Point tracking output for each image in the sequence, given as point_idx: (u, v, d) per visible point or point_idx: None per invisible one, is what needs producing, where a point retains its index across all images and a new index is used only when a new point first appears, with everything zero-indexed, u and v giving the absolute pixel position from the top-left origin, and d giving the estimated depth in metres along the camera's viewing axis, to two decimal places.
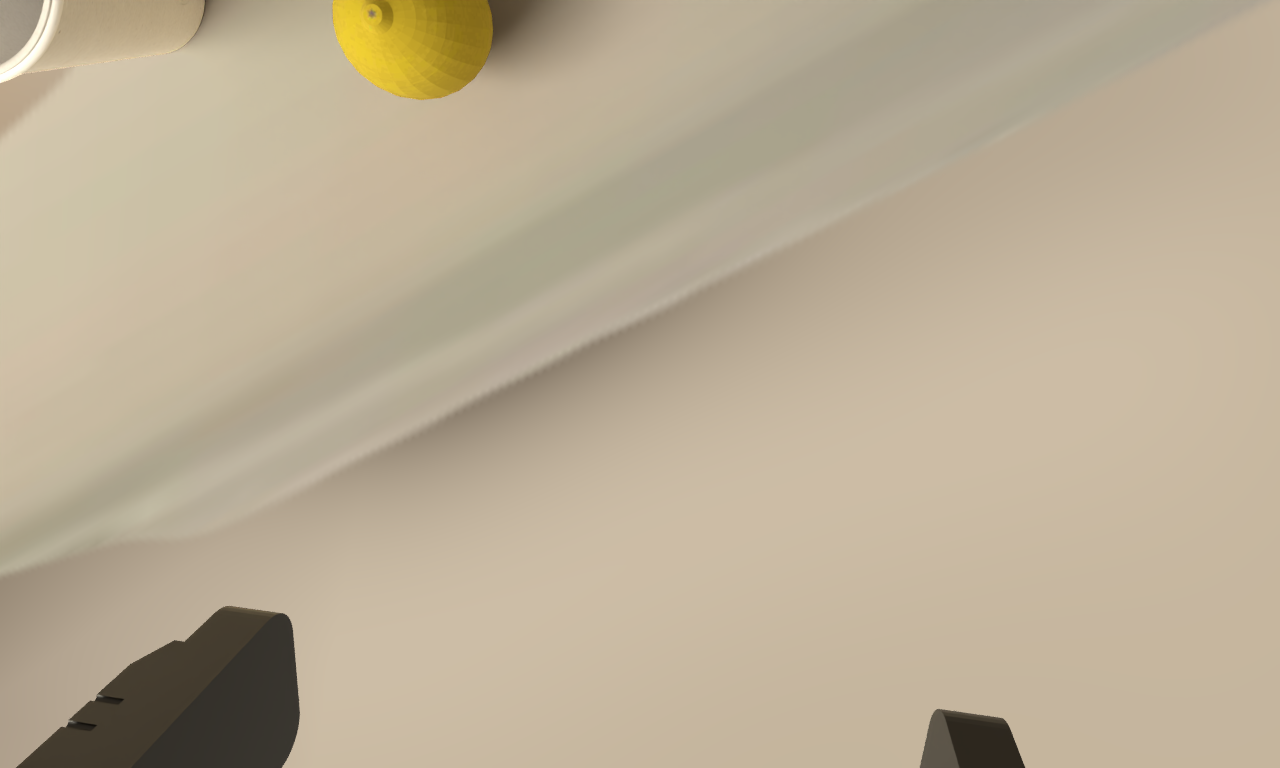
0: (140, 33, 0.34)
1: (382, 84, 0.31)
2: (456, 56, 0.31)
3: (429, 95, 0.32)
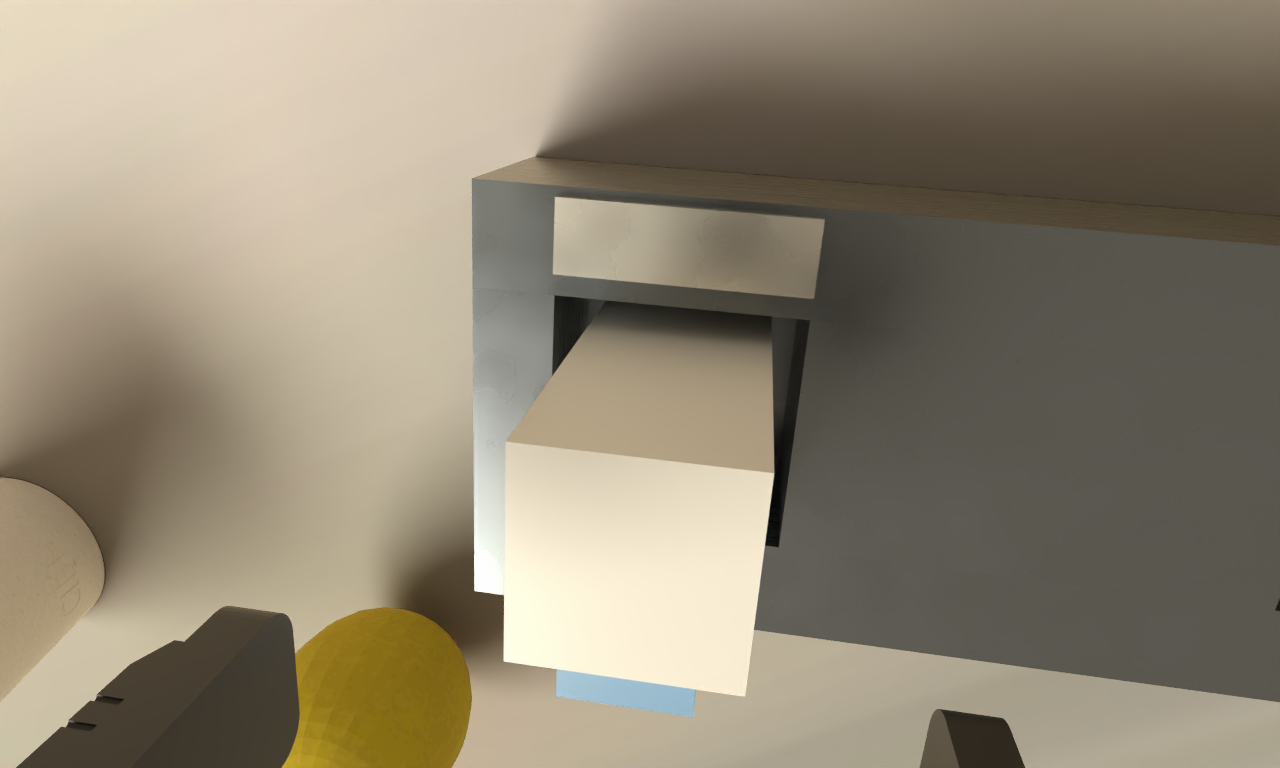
0: (6, 694, 0.26)
1: None
2: None
3: None
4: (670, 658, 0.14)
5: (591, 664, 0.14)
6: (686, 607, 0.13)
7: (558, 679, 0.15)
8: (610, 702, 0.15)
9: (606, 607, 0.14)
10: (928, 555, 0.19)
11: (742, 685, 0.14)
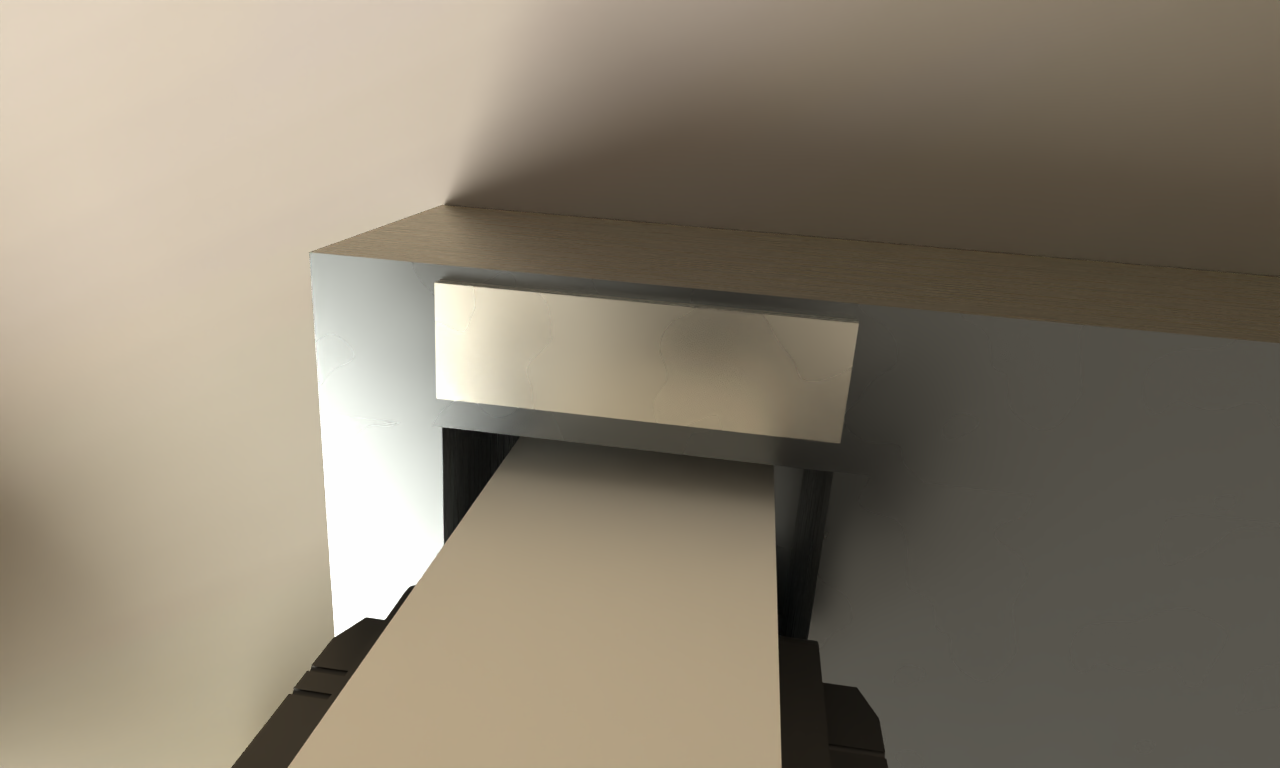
0: None
1: None
2: None
3: None
4: None
5: None
6: None
7: None
8: None
9: None
10: None
11: None
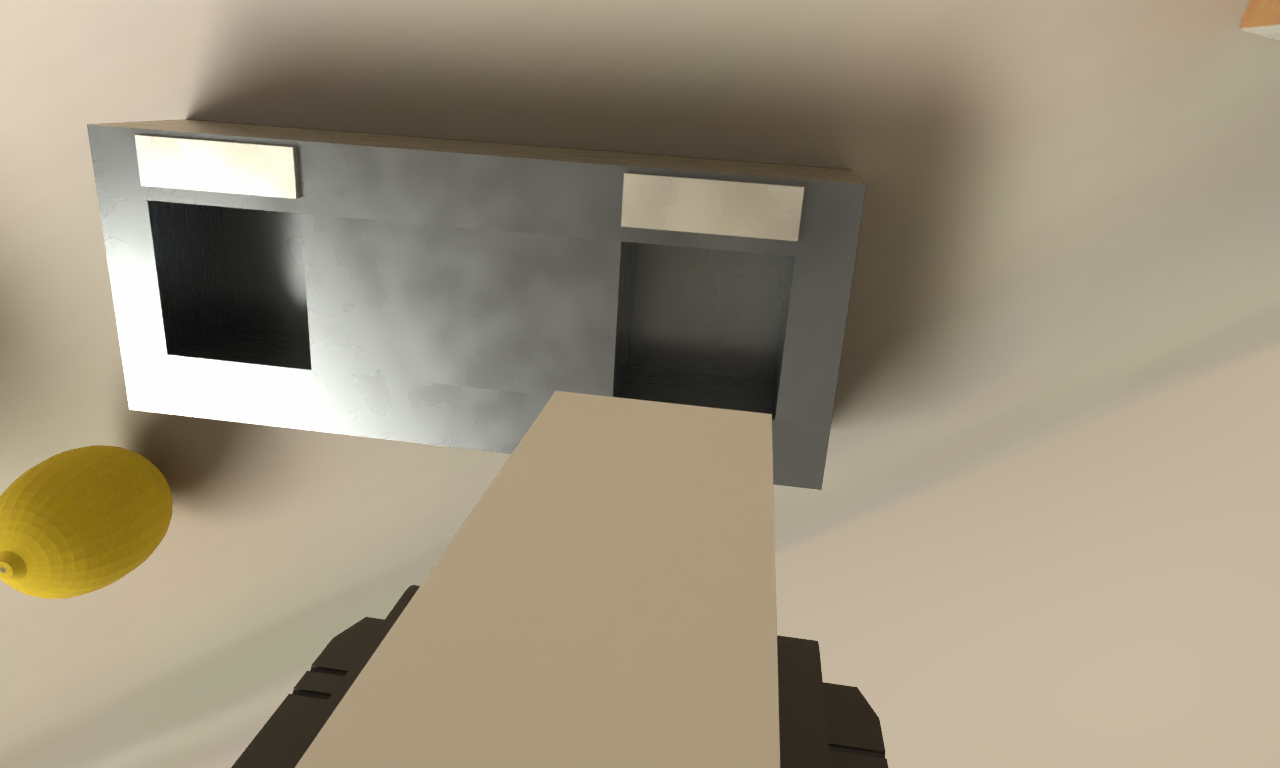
0: None
1: None
2: (107, 572, 0.33)
3: None
4: None
5: None
6: None
7: None
8: None
9: None
10: (402, 372, 0.29)
11: None
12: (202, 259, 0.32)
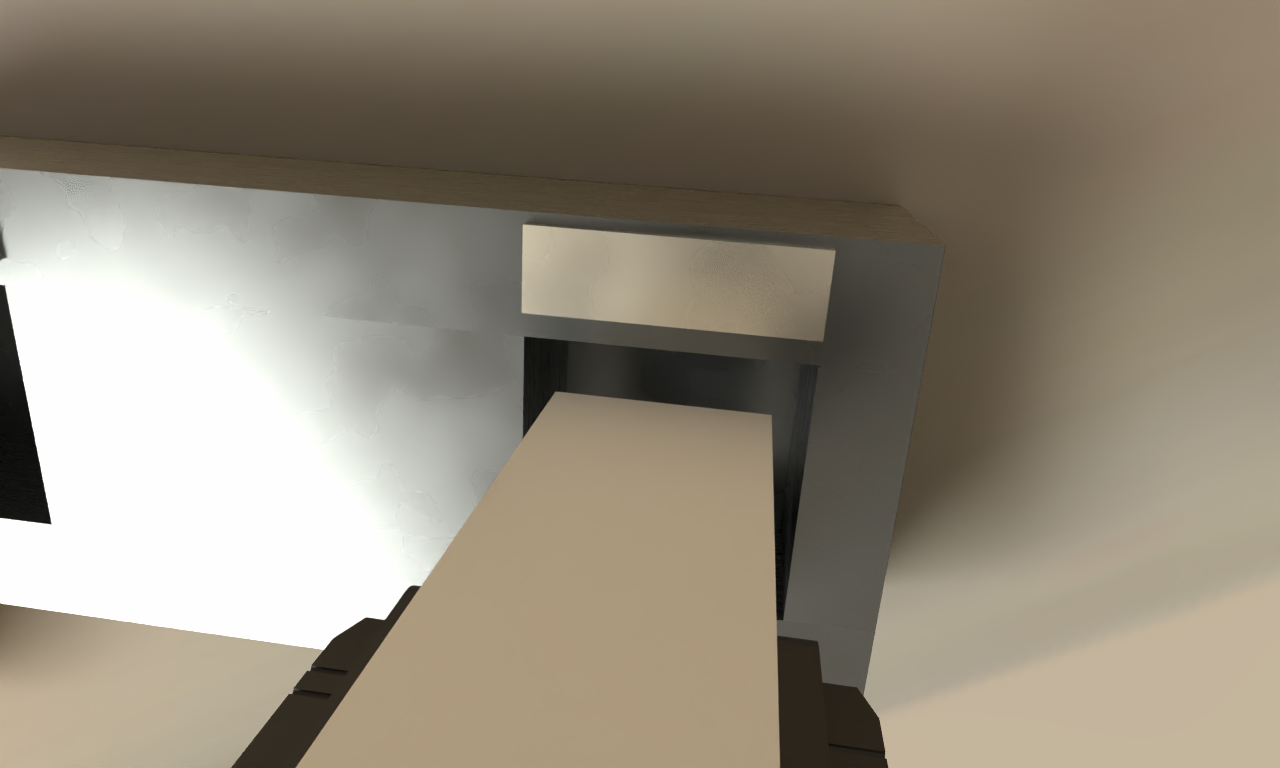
0: None
1: None
2: None
3: None
4: None
5: None
6: None
7: None
8: None
9: None
10: (189, 531, 0.18)
11: None
12: None
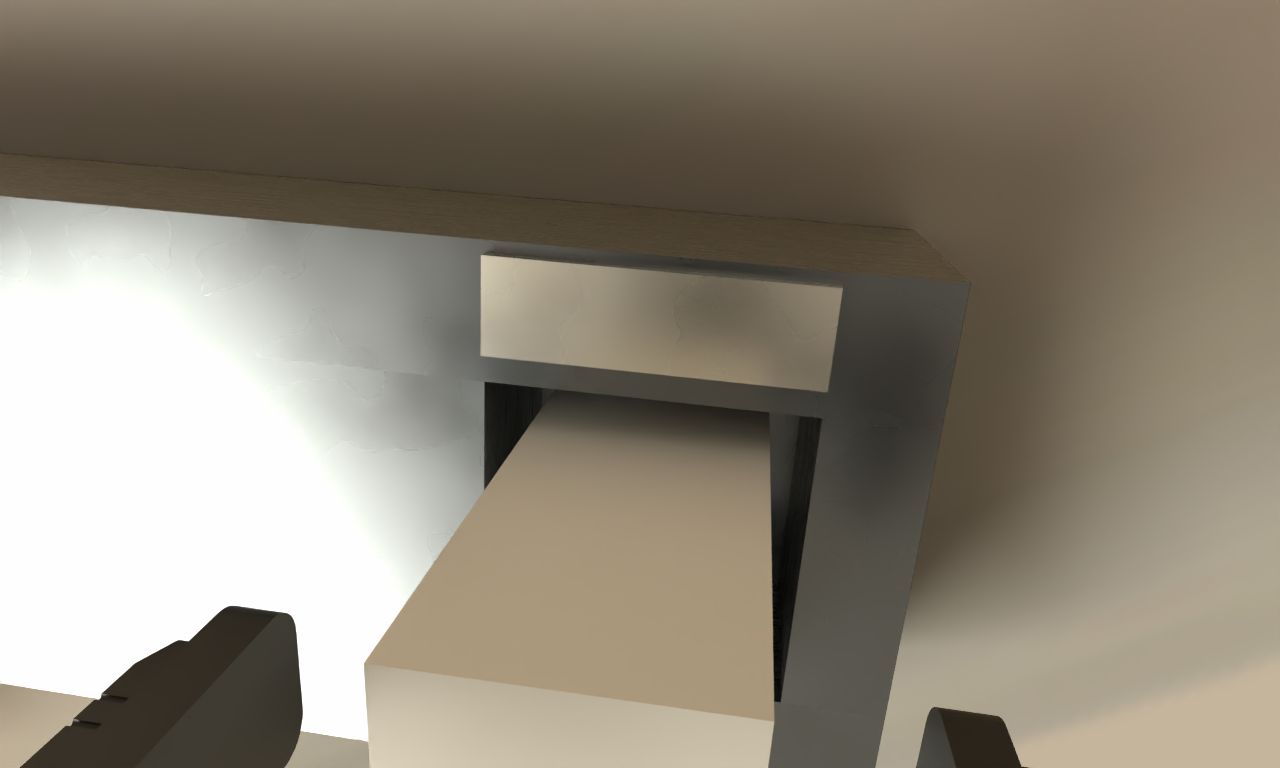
0: None
1: None
2: None
3: None
4: None
5: None
6: None
7: None
8: None
9: None
10: (112, 593, 0.16)
11: None
12: None
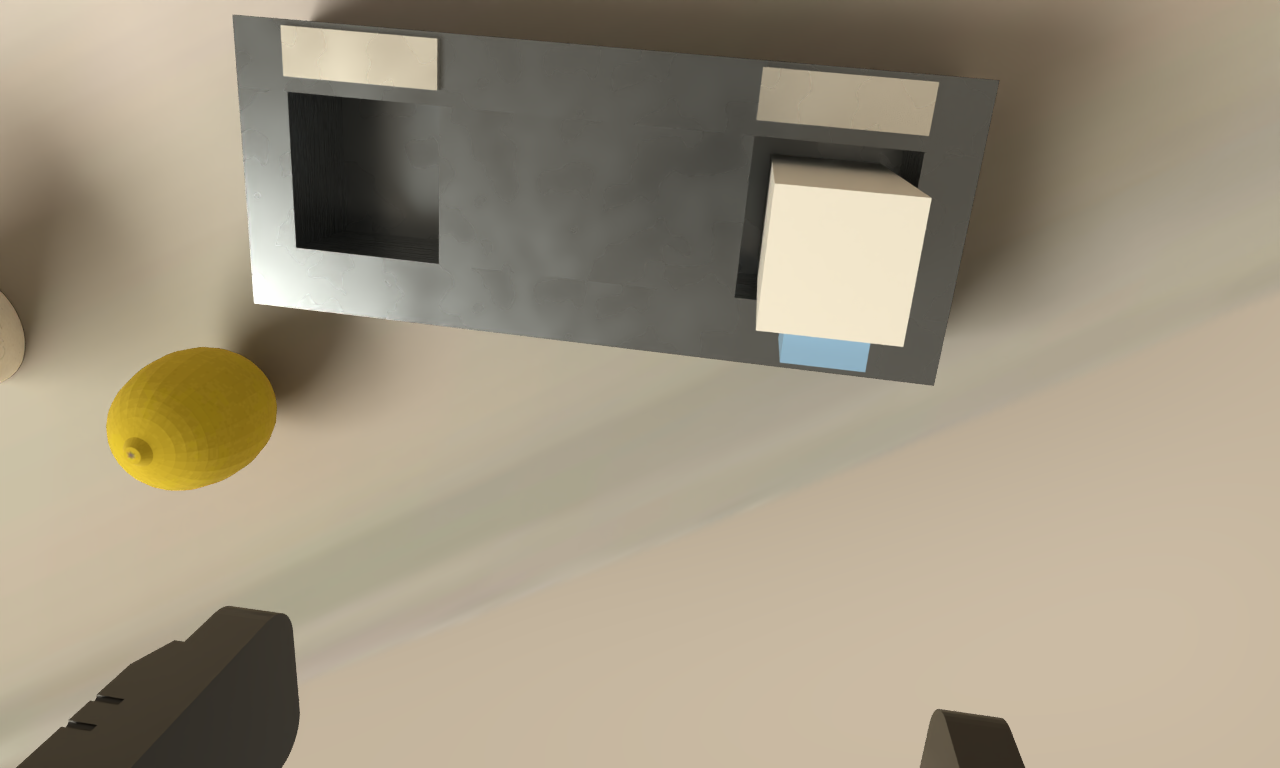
0: None
1: None
2: (224, 466, 0.34)
3: None
4: (859, 323, 0.23)
5: (810, 329, 0.23)
6: (872, 287, 0.23)
7: (783, 349, 0.24)
8: (814, 364, 0.24)
9: (823, 290, 0.23)
10: (528, 266, 0.30)
11: (902, 338, 0.23)
12: (325, 159, 0.32)
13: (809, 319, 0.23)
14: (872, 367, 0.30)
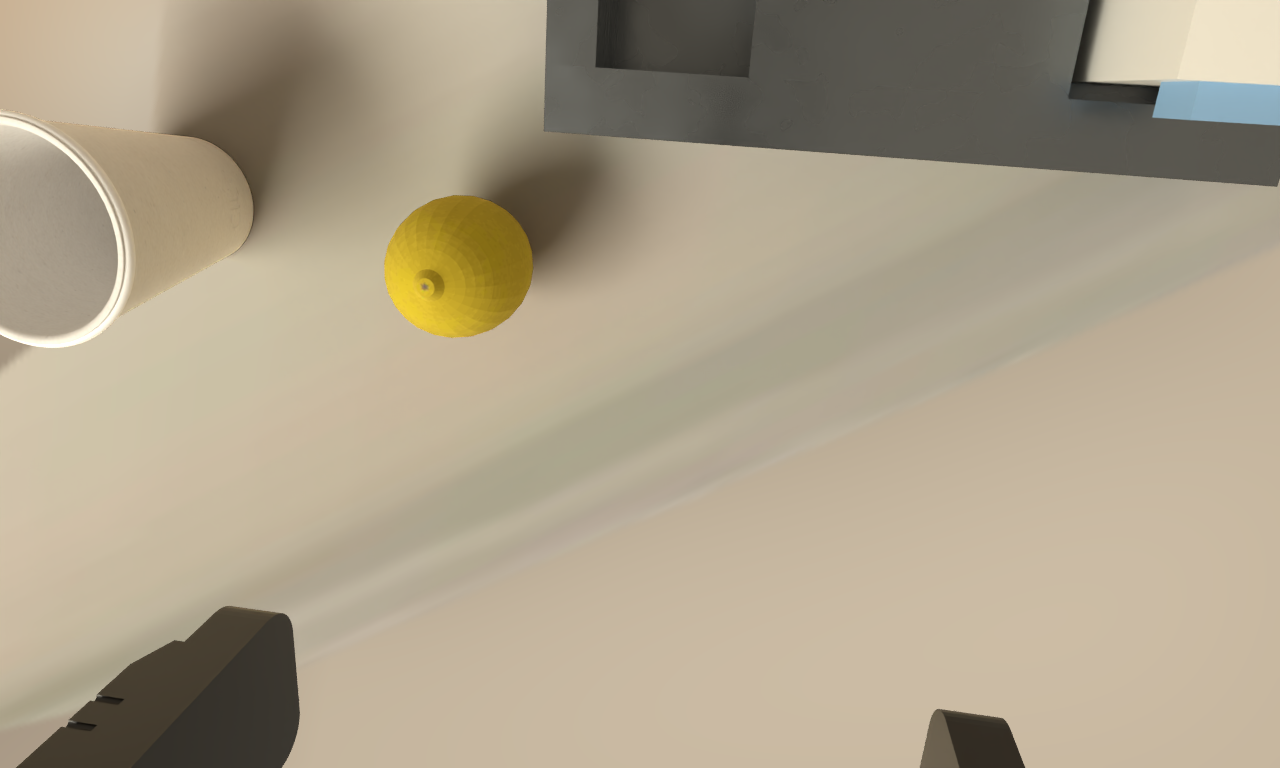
0: (196, 266, 0.36)
1: None
2: (501, 309, 0.33)
3: (473, 335, 0.34)
4: None
5: (1238, 74, 0.22)
6: None
7: (1195, 104, 0.23)
8: (1228, 119, 0.23)
9: (1259, 28, 0.22)
10: (846, 75, 0.29)
11: None
12: None
13: (1239, 62, 0.22)
14: (1211, 169, 0.28)
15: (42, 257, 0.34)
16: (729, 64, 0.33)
